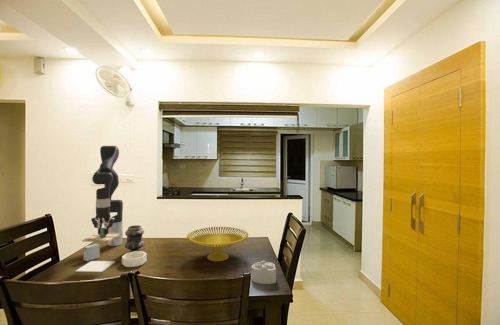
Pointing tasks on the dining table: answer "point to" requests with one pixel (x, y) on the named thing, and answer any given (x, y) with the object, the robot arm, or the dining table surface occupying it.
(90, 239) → the lid
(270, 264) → the lumpy-topped squat cylinder
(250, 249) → the dining table surface
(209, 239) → the cake stand
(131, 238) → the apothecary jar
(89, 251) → the medicine box
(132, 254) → the bowl
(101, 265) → the mat
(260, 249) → the dining table surface
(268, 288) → the dining table surface
